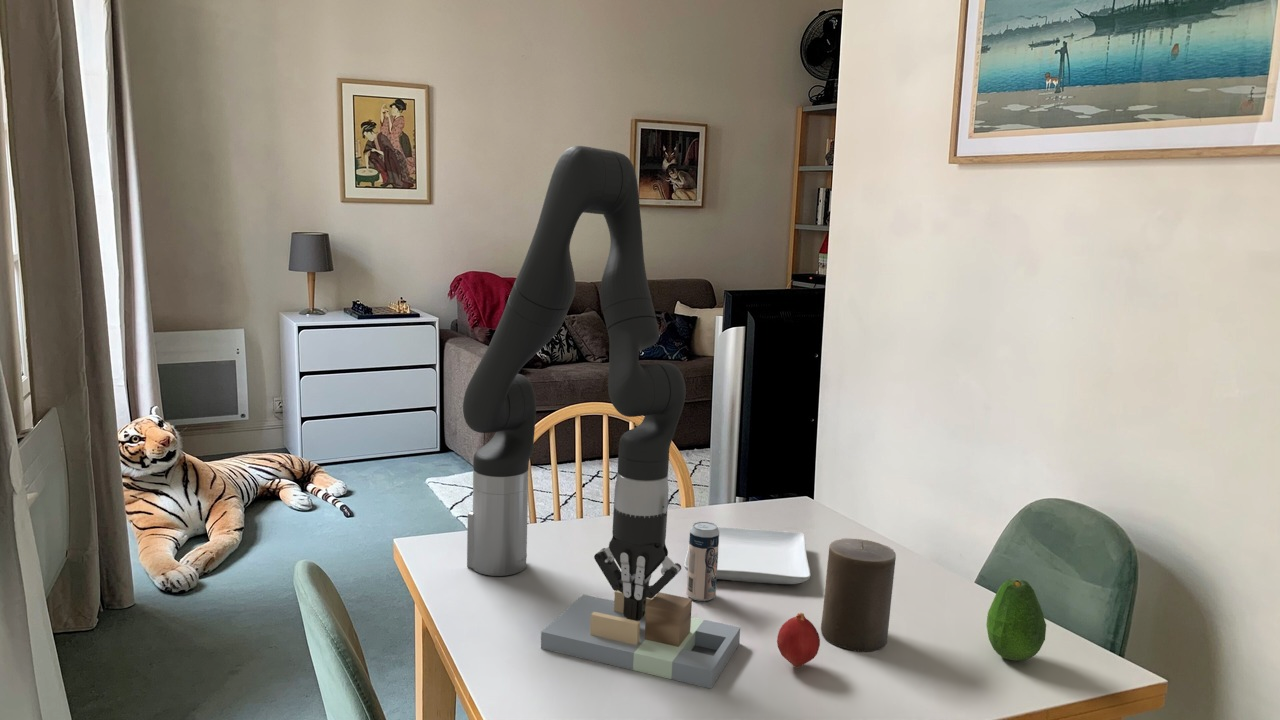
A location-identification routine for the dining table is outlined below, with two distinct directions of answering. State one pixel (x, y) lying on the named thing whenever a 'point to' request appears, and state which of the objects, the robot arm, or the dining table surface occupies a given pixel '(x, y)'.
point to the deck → (640, 642)
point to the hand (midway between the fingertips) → (634, 620)
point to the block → (668, 619)
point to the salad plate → (761, 556)
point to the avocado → (1016, 621)
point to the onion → (798, 640)
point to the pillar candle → (858, 594)
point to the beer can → (703, 561)
